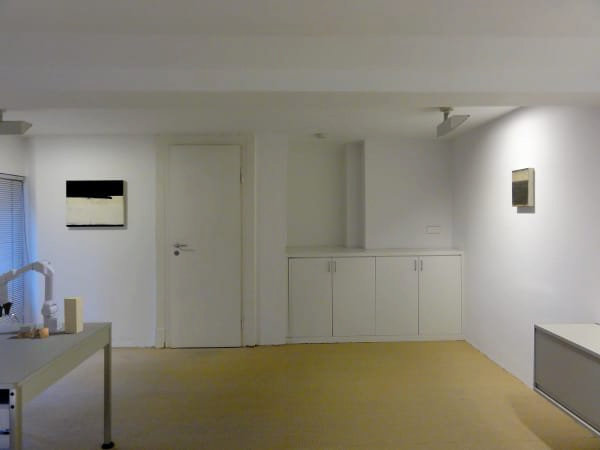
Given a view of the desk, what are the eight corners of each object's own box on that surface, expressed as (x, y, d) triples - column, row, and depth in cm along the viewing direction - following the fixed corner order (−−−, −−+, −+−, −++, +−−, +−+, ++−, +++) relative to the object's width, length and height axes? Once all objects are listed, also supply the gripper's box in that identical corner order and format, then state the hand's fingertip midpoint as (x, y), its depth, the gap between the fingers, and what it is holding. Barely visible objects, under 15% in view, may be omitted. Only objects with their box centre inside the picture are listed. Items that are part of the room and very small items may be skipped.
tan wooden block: (84, 330, 270) (83, 296, 269) (77, 333, 262) (75, 298, 262) (72, 330, 270) (71, 296, 270) (64, 333, 263) (63, 298, 263)
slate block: (36, 329, 262) (35, 323, 261) (30, 332, 256) (30, 326, 256) (25, 330, 261) (25, 324, 261) (20, 332, 255) (19, 326, 255)
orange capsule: (50, 335, 258) (49, 327, 258) (46, 338, 253) (46, 329, 253) (42, 336, 257) (42, 328, 257) (38, 338, 253) (38, 329, 253)
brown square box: (39, 334, 263) (38, 329, 263) (31, 338, 255) (31, 332, 255) (25, 335, 262) (24, 329, 262) (17, 339, 254) (17, 333, 254)
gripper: (2, 292, 277) (3, 313, 277) (-12, 296, 262) (-11, 318, 263) (14, 292, 277) (15, 313, 278) (0, 296, 263) (1, 318, 263)
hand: (3, 315), depth 270 cm, fingers open, 7 cm apart
